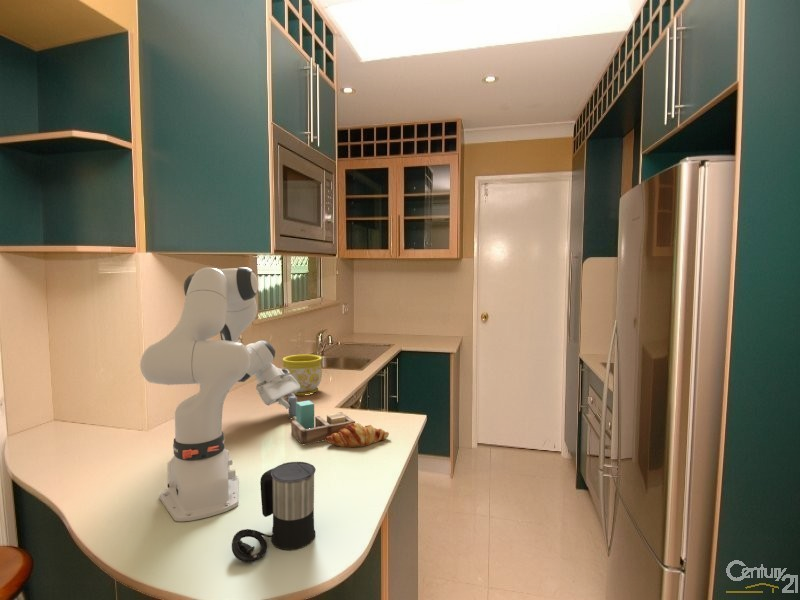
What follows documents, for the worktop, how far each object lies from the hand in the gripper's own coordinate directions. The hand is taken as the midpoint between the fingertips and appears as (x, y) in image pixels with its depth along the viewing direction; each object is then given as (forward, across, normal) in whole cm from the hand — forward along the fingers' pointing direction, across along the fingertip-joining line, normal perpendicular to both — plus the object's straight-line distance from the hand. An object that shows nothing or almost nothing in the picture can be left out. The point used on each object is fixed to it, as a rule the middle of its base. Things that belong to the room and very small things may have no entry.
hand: (292, 405), depth 171 cm
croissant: (+28, -14, -21) cm, 38 cm away
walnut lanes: (+17, -11, -11) cm, 23 cm away
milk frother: (+33, -70, -26) cm, 82 cm away
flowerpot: (-8, +32, +14) cm, 36 cm away
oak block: (+20, -9, -13) cm, 25 cm away
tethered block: (+7, -4, -1) cm, 8 cm away
